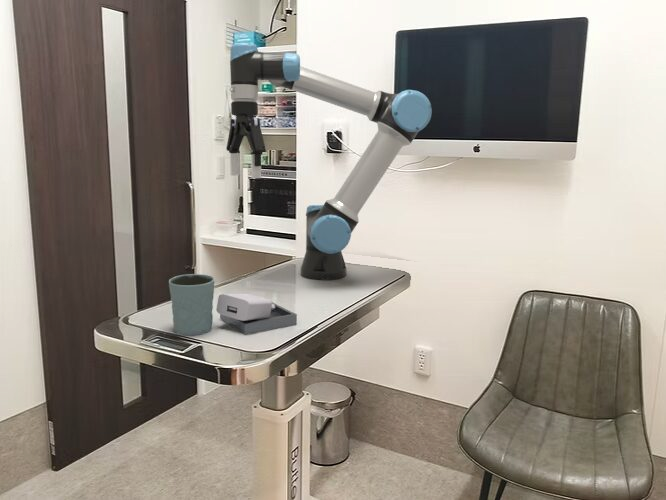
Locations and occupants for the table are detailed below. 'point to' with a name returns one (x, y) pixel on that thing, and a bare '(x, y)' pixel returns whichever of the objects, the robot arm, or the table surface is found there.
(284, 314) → the gray square tray
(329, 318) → the table surface
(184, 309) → the green cup
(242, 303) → the charger
